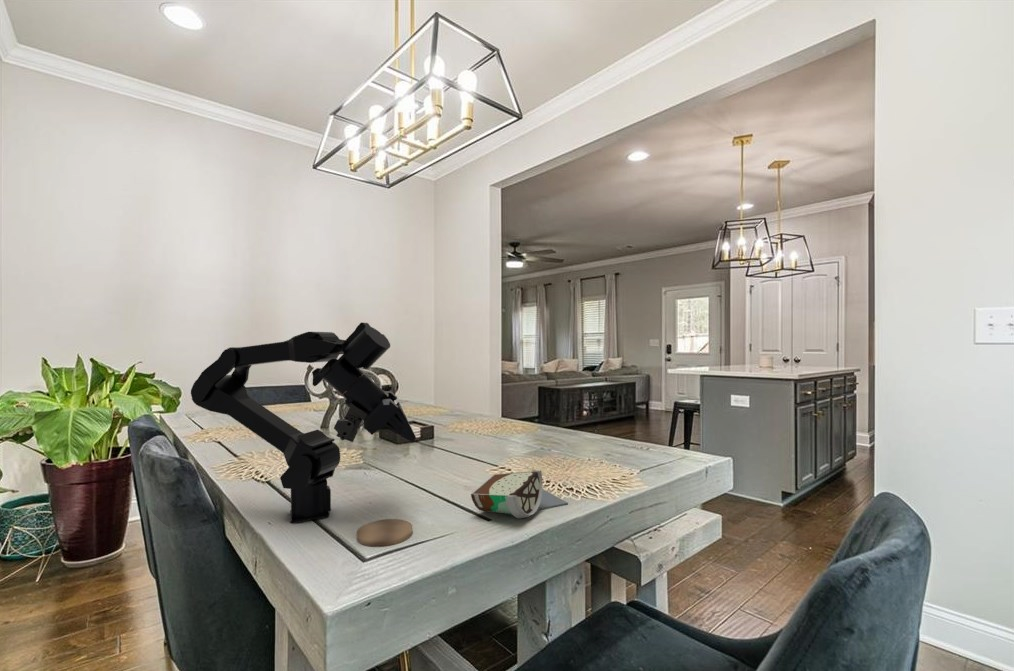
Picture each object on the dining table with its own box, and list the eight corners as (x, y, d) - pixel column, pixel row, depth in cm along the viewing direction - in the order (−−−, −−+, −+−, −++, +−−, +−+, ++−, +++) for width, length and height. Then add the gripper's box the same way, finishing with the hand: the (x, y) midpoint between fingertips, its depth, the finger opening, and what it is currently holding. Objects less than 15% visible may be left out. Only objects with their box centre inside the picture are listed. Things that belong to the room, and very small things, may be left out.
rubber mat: (508, 515, 87) (508, 514, 87) (481, 495, 98) (481, 494, 98) (568, 504, 92) (568, 502, 92) (535, 486, 104) (535, 485, 104)
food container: (473, 530, 85) (522, 531, 81) (466, 497, 85) (515, 497, 80) (503, 500, 96) (548, 500, 92) (497, 471, 96) (542, 469, 91)
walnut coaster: (361, 550, 73) (361, 544, 73) (353, 530, 81) (353, 524, 81) (418, 539, 77) (418, 533, 77) (405, 521, 85) (405, 515, 85)
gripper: (328, 409, 95) (385, 460, 98) (312, 425, 77) (382, 486, 80) (368, 369, 97) (422, 420, 100) (362, 375, 79) (429, 437, 82)
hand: (414, 439), depth 90 cm, fingers closed
